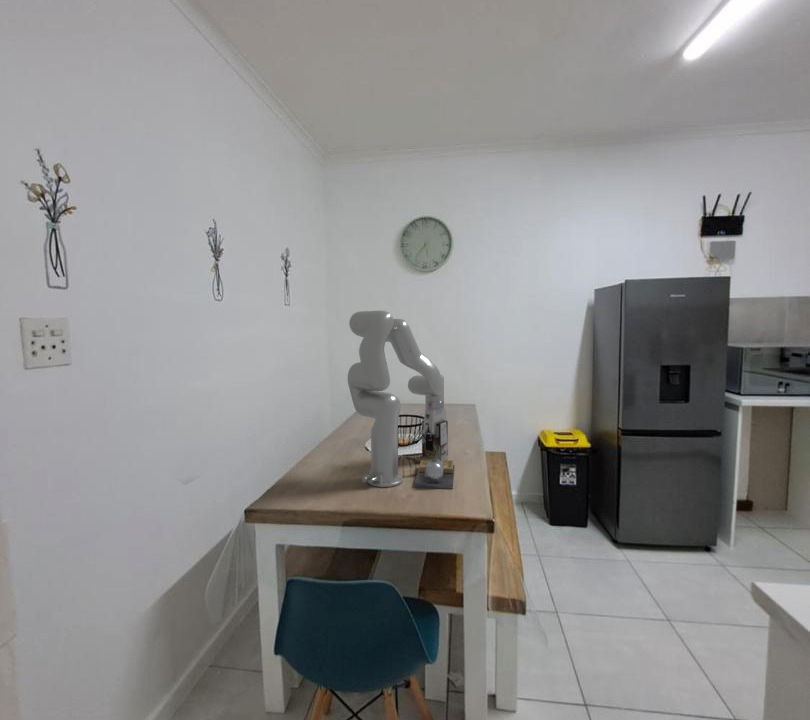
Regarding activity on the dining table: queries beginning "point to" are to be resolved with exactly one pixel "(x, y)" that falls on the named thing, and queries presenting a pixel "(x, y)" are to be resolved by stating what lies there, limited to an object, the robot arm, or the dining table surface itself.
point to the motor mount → (435, 474)
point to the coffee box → (437, 442)
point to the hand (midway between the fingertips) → (434, 447)
